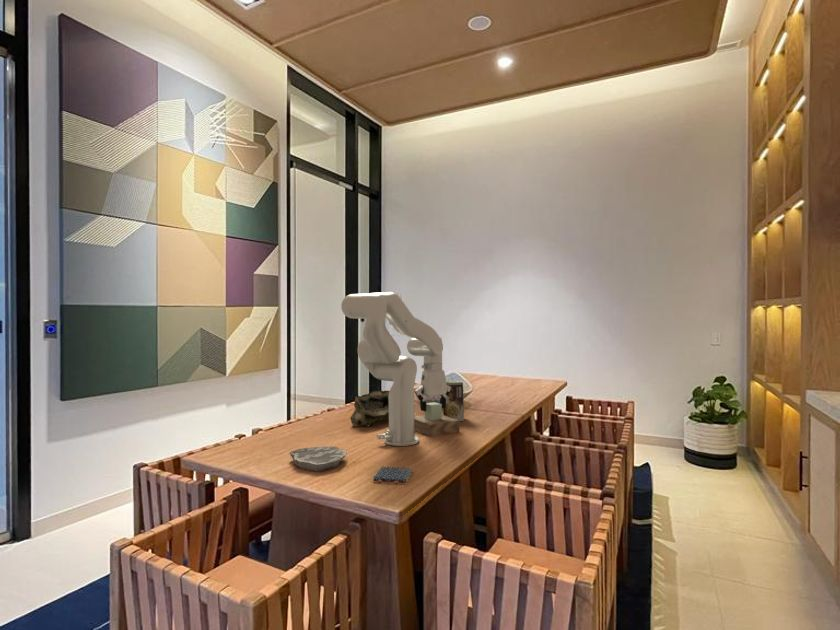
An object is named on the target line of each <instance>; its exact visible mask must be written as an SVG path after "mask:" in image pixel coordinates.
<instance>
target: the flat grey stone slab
mask: <svg viewBox="0 0 840 630" xmlns="http://www.w3.org/2000/svg"><path fill="white" fill-rule="evenodd" d="M347 453H348V452H347V450H346V449H341V448H339V447H338V446H315V447H314V446H313V447H304V448H303V447H302V448H298V449H296V450H292V451H290V452H289V455H290V457H291V458H292V460H293V462H294V463H295V465H296V466H297V467H298V468H299V469H302V470H307V471H311V472H322V471H325V470H328V469H329V470H330V469H335V468H336V467H338V466H339V464H340V462H341V461H343V460H344V458H345V457H346V455H347Z"/></svg>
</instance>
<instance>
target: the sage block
mask: <svg viewBox="0 0 840 630" xmlns="http://www.w3.org/2000/svg"><path fill="white" fill-rule="evenodd" d="M442 410H443V408H442V404H440V402H439V403H438V402H436V401H435V402H434V401H433V402H426V411H424V415H425V419H428V420H431V421H432V420H439V419H442V415H443V412H442Z"/></svg>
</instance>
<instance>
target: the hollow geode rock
mask: <svg viewBox="0 0 840 630" xmlns="http://www.w3.org/2000/svg"><path fill="white" fill-rule="evenodd" d="M389 391H390V390H381V389H378V390H377V389H376V390H372V391H371V392H369V393H365V394H363V395H361V396H360V395H356V396H354V404H353V407H354V408H355V409H354V411H353V413H352V414H351V415H350V417H349V418H350V422H351V424H352V426H353V427H363V426H364V427H369V426H370V425H371V424H372V423H374V422H379V421H382V420H385V419H388V420H389V400H388V395H389Z"/></svg>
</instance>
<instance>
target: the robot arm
mask: <svg viewBox="0 0 840 630" xmlns="http://www.w3.org/2000/svg"><path fill="white" fill-rule="evenodd" d="M340 306H341V307H340V308H341V311H342V313H343V315H344V316H345V317H347V318H349V319H366V320H365V323H364V327H363V330H362V337H363V338H362V339H361V340H360V341H359V343H358V345H357V354H358V358H359V361H361V363H362V364H363V366H364V367H365V368H366V369H367V370H368V372H369V373H370V374H371V375H372V376H373V377H374V378H376V379H377V380H380V381H385V382H393V383H392V385H391V387H390V389H389V390H388V391H389V395H388V400H389V418H388V429H386V430H385V432H384V433H378V434H377V435H376V438H377V440H379V441H381V440H384V443H385V444H386V445H389V446H395V447H407V446H413V445H416V444H418V443H419V442H420V439H419V437H418V436H417V435H415V434H416V433H415V432H416V431H415V421H414V416H415V396H416V398H417V399H418V400H419V403H420V405H419V406H420V411H422V412H425V411H426V403H427V401H426V400H427V399H428V397H438V396H440V398H439V404H442V409H443V408H444V409H445V408H446V398H447V396H448V395H449V392H450V389H451V387H450V386H448V385H446V382H447V379H446V373H445V370H444V369H443V350H444V343H443V340H442V337H440V336H439V334H438V333H437V331H436V330H435V329H434V328H433V327H432V326H431V325H429V324H427V323H426V322H424V321H422V320H421V319H418V318H417V317H415V316H414V315H413V314H412V312H411V311H410V309H409V308H408V307H407V305H406V304H405V302H404V301H403V300H402V298H401V297H400V296H399V295H398V294H397V293H395V292H392V291H389V292H388V291H386V292H370V293H368V292H367V293H350V294H348V295H346V296H345V297H344V298H343V300H342V301H341V305H340ZM386 320H387V321H388V322H389V324H390V325H391V326H392V327H393V329H394V330H395V331H396V332H397V333H398V334H400V335H403V336H405V337H408V338H410V339H409V340H408V342H407V343H406V350H407V352H408V353H409V354H410V355H412V356H415V357H423V364H422V365H421V369H423V370H422V372H421V376H420V377H421V378H420V386H419V387H417V388H416V389H415V385H416V383H415V382H416V376H417V371H418V367H417V363H416V361H415V360H414V359H413V358H412V357H410V356H406V355H401V354H402V352H401V348H400V347H399V344H398V343H397V341H396V340H395V339H394V337H393V336H392V335H391V333H390V332H389V331H388V329H387V327H386Z"/></svg>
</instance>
